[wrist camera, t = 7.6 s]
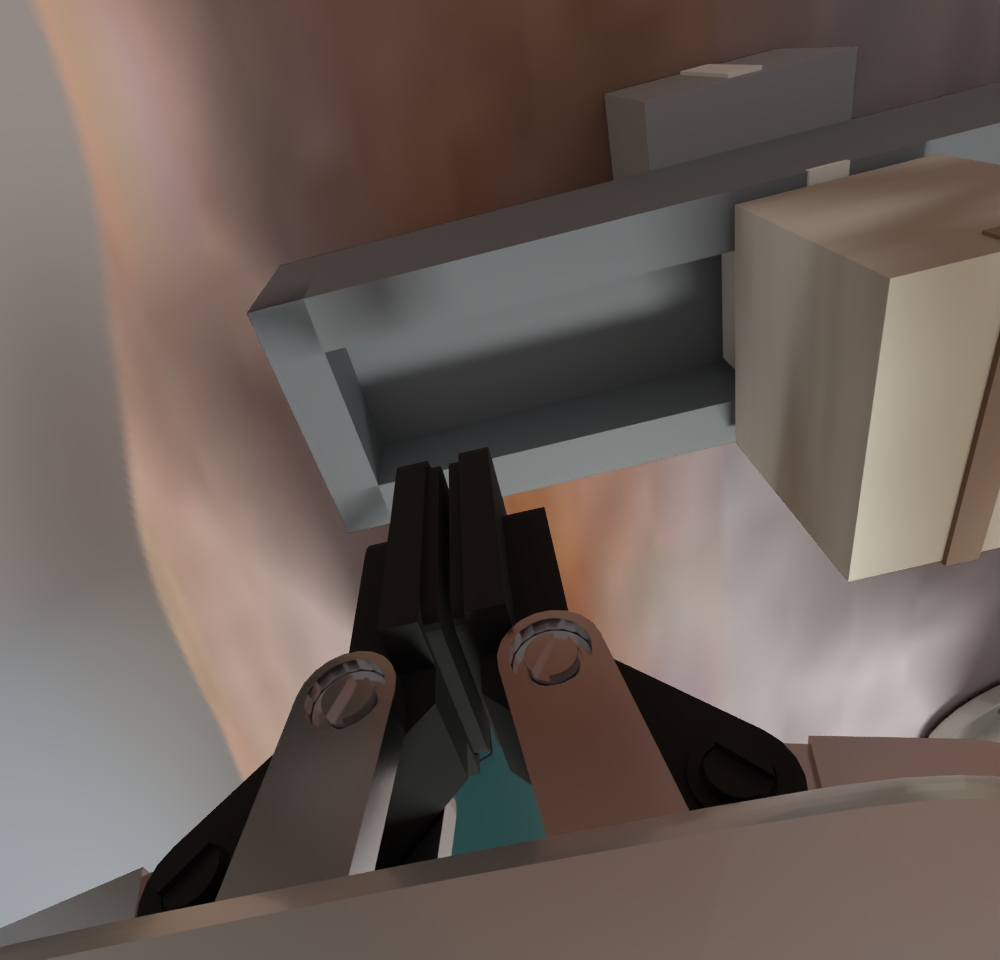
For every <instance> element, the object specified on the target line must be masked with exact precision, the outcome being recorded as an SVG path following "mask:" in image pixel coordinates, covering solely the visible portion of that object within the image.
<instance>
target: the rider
mask: <svg viewBox="0 0 1000 960" xmlns="http://www.w3.org/2000/svg"><path fill="white" fill-rule="evenodd" d="M721 257H722V323H723V358H724V359H725V360H726V361H727V362H728V363H729V364H730V365H731V366H732V367H733V368H734V369H735V442H736V443H737V445H738V446H739V447H740V448H741V450H742V451H743V452H744V453H745V455H746V456H747V457H748V458H749V460H750V461H751V462H752V463H753V465H754V466H755V467H756V468H757V470H758V471H759V472H760V473H761V474H762V476H763V477H764V478H765V479H766V481H767V482H768V483H769V484H770V486H771V487H772V488H773V489H774V491H775V492H776V493H777V494H778V496H779V497H780V498H781V499H782V501H783V502H784V503H785V504H786V505H787V507H788V508H789V509H790V510H791V512H792V513H793V514H794V515H795V517H796V518H797V519H798V520H799V522H800V523H801V524H802V525H803V527H804V528H805V529H806V530H807V531H808V533H809V534H810V535H811V536H812V538H813V539H814V540H815V541H816V543H817V544H818V545H819V546H820V548H821V549H822V550H823V551H824V553H825V554H826V555H827V556H828V558H829V559H830V560H831V561H832V562H833V564H834V565H835V566H836V567H837V569H838V570H839V571H840V572H841V574H842V575H843V576H844V577H845V579H846V580H847V581H848V582H850V581H854V580H859V579H863V578H868V577H872V576H876V575H881V574H885V573H890V572H894V571H899V570H903V569H907V568H912V567H916V566H921V565H925V564H930V563H934V562H938V561H941V562H942V563H943V564H944V565H945V566H949V565H954V564H958V563H963V562H967V561H971V560H976V559H979V557H980V554H981V552H983V551H987V550H991V549H996V548H1000V165H997V164H992V163H987V162H981V161H976V160H970V159H965V158H960V157H954V156H949V155H943V154H935V155H931V156H927V157H923V158H919V159H915V160H911V161H907V162H903V163H899V164H895V165H891V166H887V167H883V168H879V169H875V170H871V171H867V172H863V173H859V174H855V175H851V176H847V177H843V178H839V179H835V180H831V181H827V182H823V183H819V184H815V185H811V186H808V187H804V188H800V189H796V190H792V191H788V192H784V193H780V194H776V195H772V196H768V197H764V198H760V199H756V200H752V201H748V202H744V203H740V204H736V205H735V251H731V252H727V253H723V254H721Z"/></svg>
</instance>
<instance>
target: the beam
mask: <svg viewBox="0 0 1000 960" xmlns="http://www.w3.org/2000/svg"><path fill="white" fill-rule="evenodd" d="M857 53H858V46H847V47H812V48H777V49H774V50H770V51H766V52H762V53H758V54H754V55H751V56H747V57H743V58H739V59H735V60H731V61H728V62H724V63H720V64H706V65H702V66H698V67H695V68H691V69H687V70H683V71H680V74H678V75H674V76H670V77H666V78H663V79H659V80H655V81H651V82H647V83H643V84H640V85H636V86H632V87H628V88H624V89H620V90H617V91H613V92H609V93H605V94H604V96H605V106H606V116H607V125H608V135H609V144H610V154H611V163H612V173H613V181H609V182H605V183H601V184H597V185H593V186H589V187H585V188H581V189H577V190H573V191H570V192H566V193H562V194H558V195H554V196H550V197H546V198H542V199H538V200H534V201H530V202H527V203H523V204H519V205H515V206H511V207H507V208H503V209H499V210H495V211H491V212H487V213H483V214H480V215H476V216H472V217H468V218H464V219H460V220H456V221H452V222H448V223H444V224H440V225H437V226H433V227H429V228H425V229H421V230H417V231H413V232H409V233H405V234H401V235H397V236H393V237H390V238H386V239H382V240H378V241H374V242H370V243H366V244H362V245H358V246H354V247H350V248H347V249H343V250H339V251H335V252H331V253H327V254H323V255H319V256H315V257H311V258H307V259H303V260H300V261H296V262H292V263H288V264H284V265H280V266H279V268H278V269H277V271H276V272H275V274H274V275H273V276H272V278H271V279H270V281H269V282H268V284H267V285H266V286H265V288H264V289H263V291H262V292H261V294H260V295H259V296H258V298H257V299H256V301H255V302H254V304H253V305H252V306H251V308H250V309H249V311H248V312H247V315H248V317H249V319H250V322H251V324H252V326H253V328H254V330H255V332H256V335H257V337H258V339H259V341H260V343H261V345H262V347H263V350H264V352H265V354H266V356H267V358H268V360H269V363H270V365H271V367H272V369H273V371H274V373H275V376H276V378H277V380H278V382H279V384H280V386H281V388H282V391H283V393H284V395H285V397H286V399H287V401H288V404H289V406H290V408H291V410H292V412H293V414H294V416H295V419H296V421H297V423H298V425H299V427H300V429H301V432H302V434H303V436H304V438H305V440H306V442H307V444H308V447H309V449H310V451H311V453H312V455H313V457H314V460H315V462H316V464H317V466H318V468H319V470H320V473H321V475H322V477H323V479H324V481H325V483H326V485H327V488H328V490H329V492H330V494H331V496H332V498H333V501H334V503H335V505H336V507H337V509H338V511H339V513H340V516H341V518H342V520H343V522H344V524H345V526H346V529H347V531H348V533H352V532H356V531H360V530H364V529H369V528H373V527H377V526H381V525H385V524H390V519H391V511H392V503H393V494H394V486H395V478H396V470H397V468H398V467H402V466H406V465H410V464H415V463H419V462H424V461H428V462H429V464H430V466H431V468H433V467H437V466H441V468H442V470H443V473H444V476H445V479H446V482H447V485H448V488H449V464H450V463H455V462H459V459H458V455H459V453H463V452H467V451H472V450H476V449H480V448H485V447H488V448H489V450H490V454H491V457H492V461H493V465H494V468H495V472H496V476H497V480H498V483H499V487H500V491H501V495H502V497H504V496H508V495H512V494H516V493H521V492H525V491H529V490H533V489H538V488H542V487H546V486H550V485H554V484H559V483H563V482H567V481H571V480H576V479H580V478H584V477H588V476H593V475H597V474H601V473H605V472H609V471H614V470H618V469H622V468H626V467H631V466H635V465H639V464H643V463H647V462H652V461H656V460H660V459H664V458H669V457H673V456H677V455H681V454H685V453H690V452H694V451H698V450H702V449H707V448H711V447H715V446H719V445H724V444H728V443H732V442H735V369H734V368H733V367H732V366H731V365H730V364H729V363H728V362H727V361H726V360H725V359H724V358H723V323H722V257H721V254H723V253H727V252H731V251H735V205H736V204H740V203H744V202H748V201H752V200H756V199H760V198H764V197H768V196H772V195H776V194H780V193H784V192H788V191H792V190H796V189H800V188H804V187H808V186H811V185H815V184H819V183H823V182H827V181H831V180H835V179H839V178H843V177H847V176H851V175H855V174H859V173H863V172H867V171H871V170H875V169H879V168H883V167H887V166H891V165H895V164H899V163H903V162H907V161H911V160H915V159H919V158H923V157H927V156H931V155H935V154H943V155H949V156H954V157H960V158H965V159H970V160H976V161H981V162H987V163H992V164H997V165H1000V82H996V83H992V84H988V85H984V86H980V87H977V88H973V89H969V90H965V91H961V92H957V93H953V94H949V95H945V96H941V97H937V98H933V99H930V100H926V101H922V102H918V103H914V104H910V105H906V106H902V107H898V108H894V109H890V110H887V111H883V112H879V113H875V114H871V115H867V116H863V117H859V118H855V119H852V109H853V97H854V86H855V75H856V64H857Z"/></svg>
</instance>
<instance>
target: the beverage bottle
mask: <svg viewBox="0 0 1000 960" xmlns="http://www.w3.org/2000/svg"><path fill="white" fill-rule="evenodd" d="M489 732H490V750H487V751H482V752H479V756H480V774H478V775H473V776H468V780H467V781H466V782H465V783H464V785H463V786H462V787H461V788H460V789H459V791H458V792H457V793H456V794H455V795H454V798H455V801H456V822H455V830H454V838H453V846H452V854H451V856H453V855H459V854H464V853H469V852H474V851H479V850H485V849H490V848H495V847H500V846H505V845H511V844H516V843H521V842H527V841H532V840H537V839H543V838H547V836H546V832H545V829H544V825H543V822H542V818H541V815H540V811H539V808H538V804H537V801H536V797H535V794H534V790H533V787H532V785H530V784H529V783H527V782H526V781H525V780H523V779H522V778H520V777H519V776H517V775H516V774H514V773H513V772H512V771H510V769H509V766H508V763H507V761H506V758H505V755H504V752H503V750H502V748H500V747H499V746H498V743H497V741H496V738H495V735H494V733H493V730H492V727H491V725H490V722H489Z"/></svg>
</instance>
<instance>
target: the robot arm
mask: <svg viewBox="0 0 1000 960" xmlns="http://www.w3.org/2000/svg"><path fill="white" fill-rule="evenodd" d="M458 459H459V462H455V463H450V464H449V488H448V485H447V482H446V479H445V476H444V473H443V470H442V468H441V466H437V467H433V468H431V466H430V464H429V462H428V461H424V462H419V463H415V464H410V465H406V466H402V467H398V468H397V470H396V478H395V486H394V494H393V503H392V511H391V519H390V527H389V535H388V542H385V543H380V544H376V545H371V546H369V547H368V548H367V551H366V554H365V560H364V566H363V572H362V578H361V584H360V590H359V596H358V602H357V608H356V614H355V620H354V626H353V632H352V638H351V645H350V651H349V653H347V654H343V655H341V656H339V657H337V658H334V659H332V660H330V661H328V662H327V663H325V664H324V665H323V666H321V667H320V668H319V669H317V670H316V671H315V672H314V673H313V674H312V675H311V676H310V677H309V678H308V679H307V680H306V682H305V683H304V684H303V686H302V688H301V689H300V691H299V693H298V695H297V697H296V699H295V701H294V704H293V706H292V709H291V711H290V714H289V716H288V719H287V721H286V724H285V726H284V729H283V732H282V734H281V737H280V739H279V742H278V744H277V747H276V749H275V752H274V754H273V755H272V756H271V757H270V758H269V759H268V760H267V761H266V762H264V763H263V764H262V765H261V766H260V767H259V768H258V769H257V770H256V771H255V772H254V773H253V774H252V775H251V776H249V777H248V778H247V779H246V780H245V781H244V782H243V783H242V784H241V785H240V786H239V787H238V788H237V789H236V790H234V791H233V792H232V793H231V795H229V796H228V797H227V798H226V799H225V800H224V801H223V802H222V803H220V804H219V805H218V806H217V807H216V808H215V809H214V810H213V811H212V812H211V813H210V814H209V815H208V816H207V817H206V818H204V819H203V820H202V821H201V822H200V823H199V824H198V825H197V826H196V827H195V828H194V829H193V830H191V832H189V833H188V834H187V835H186V836H185V837H184V838H183V839H182V840H181V841H180V842H179V843H178V844H177V845H175V846H174V847H173V848H172V850H171V851H170V852H169V853H168V854H167V855H166V856H165V857H164V858H163V860H162V861H161V862H160V863H159V864H158V865H157V867H156V869H155V870H154V872H151V873H149V872H148V871H147V870H146V869H144V868H143V867H142V868H140V869H137V870H135V871H132V872H130V873H128V874H126V875H123V876H121V877H118V878H116V879H114V880H112V881H109V882H107V883H105V884H102V885H100V886H98V887H95V888H93V889H91V890H88V891H86V892H84V893H81V894H79V895H77V896H74V897H72V898H70V899H68V900H65V901H63V902H60V903H58V904H56V905H53V906H51V907H49V908H47V909H44V910H42V911H39V912H37V913H35V914H33V915H30V916H28V917H26V918H23V919H21V920H18V921H16V922H14V923H12V924H9V925H7V926H5V927H2V928H0V960H1000V685H998V686H996V687H993V688H992V689H990V690H988V691H986V692H984V693H982V694H980V695H978V696H977V697H975V698H973V699H971V700H970V701H968V702H967V703H965V704H964V705H962V706H961V707H959V708H958V709H956V710H955V711H954V712H953V713H951V714H950V715H949V716H948V717H947V718H945V719H944V720H943V721H942V722H941V723H940V724H939V725H938V726H937V727H936V728H935V729H934V730H933V731H932V732H931V734H930V735H929V737H928V738H899V737H847V736H809V740H808V744H790V743H783V742H782V741H780V740H778V739H777V738H775V737H774V736H772V735H771V734H769V733H767V732H766V731H764V730H762V729H760V728H758V727H756V726H754V725H752V724H750V723H748V722H745V721H743V720H741V719H739V718H737V717H735V716H733V715H731V714H729V713H727V712H724V711H722V710H720V709H718V708H716V707H714V706H712V705H710V704H708V703H705V702H703V701H701V700H699V699H697V698H695V697H693V696H691V695H689V694H687V693H684V692H682V691H680V690H678V689H676V688H674V687H672V686H670V685H668V684H665V683H663V682H661V681H659V680H657V679H655V678H653V677H651V676H649V675H647V674H644V673H642V672H640V671H638V670H636V669H634V668H632V667H630V666H628V665H625V664H623V663H621V662H619V661H617V660H615V659H613V657H612V655H611V653H610V651H609V649H608V647H607V645H606V643H605V641H604V639H603V637H602V635H601V633H600V631H599V630H598V629H597V627H596V626H595V625H594V624H593V622H591V621H590V620H588V619H587V618H585V617H584V616H582V615H580V614H577V613H573V612H570V611H568V608H567V603H566V599H565V595H564V590H563V586H562V582H561V577H560V573H559V569H558V564H557V560H556V556H555V551H554V547H553V543H552V538H551V534H550V530H549V525H548V521H547V517H546V512H545V508H544V507H542V508H537V509H533V510H528V511H524V512H519V513H515V514H510V515H507V513H506V510H505V506H504V502H503V498H502V495H501V491H500V487H499V483H498V480H497V476H496V472H495V468H494V465H493V461H492V457H491V454H490V450H489V448H488V447H485V448H480V449H476V450H472V451H467V452H463V453H459V455H458ZM489 722H490V725H491V727H492V730H493V733H494V735H495V738H496V741H497V743H498V746H499V747H500V748H502V750H503V752H504V755H505V758H506V761H507V763H508V766H509V769H510V771H512V772H513V773H514V774H516V775H517V776H519V777H520V778H522V779H523V780H525V781H526V782H527V783H529V784H530V785H532V787H533V790H534V794H535V797H536V801H537V804H538V808H539V811H540V815H541V818H542V822H543V825H544V829H545V832H546V836H547V838H543V839H537V840H532V841H527V842H521V843H516V844H511V845H505V846H500V847H495V848H490V849H485V850H479V851H474V852H469V853H464V854H459V855H453V856H451V854H452V846H453V838H454V830H455V822H456V801H455V798H454V795H455V794H456V793H457V792H458V791H459V789H460V788H461V787H462V786H463V785H464V783H465V782H466V781H467V780H468V776H473V775H478V774H480V756H479V752H482V751H487V750H490V732H489Z"/></svg>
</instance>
